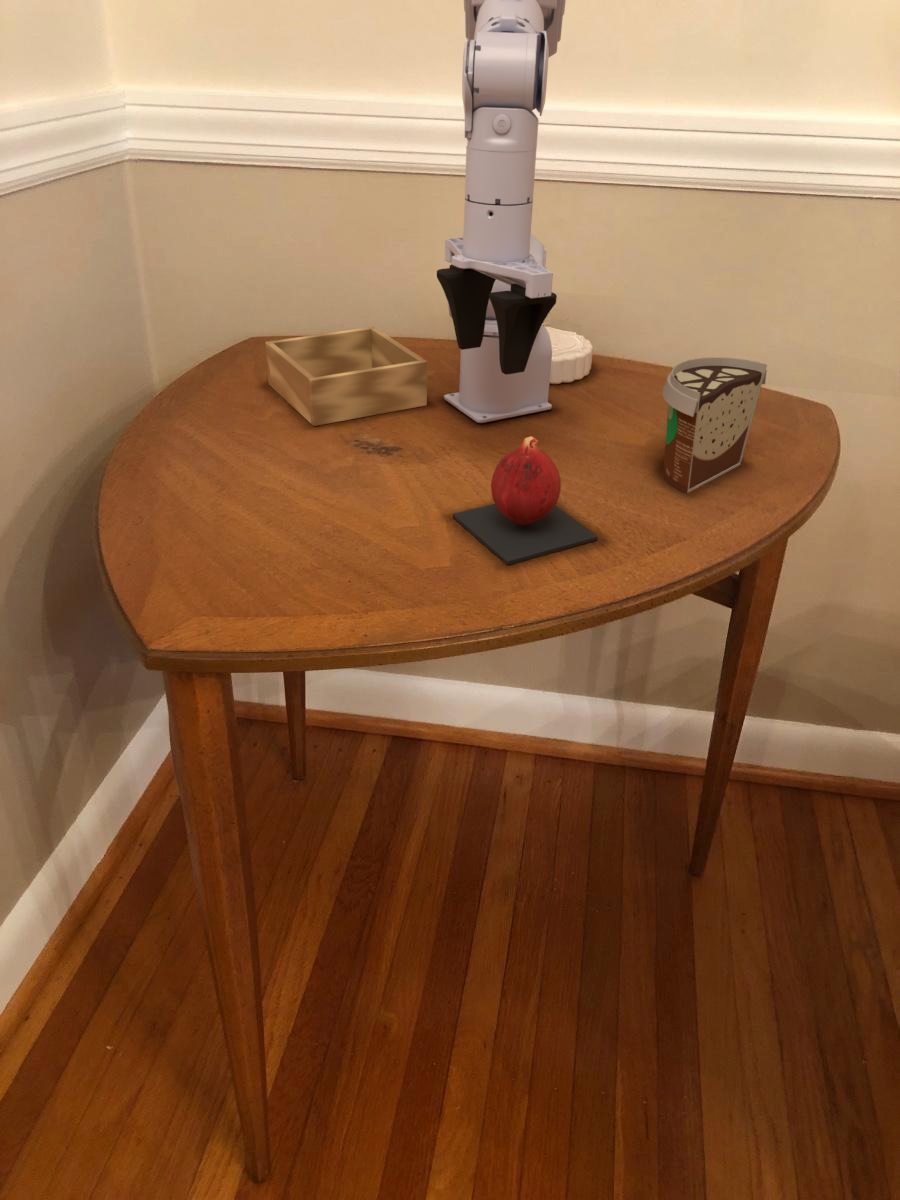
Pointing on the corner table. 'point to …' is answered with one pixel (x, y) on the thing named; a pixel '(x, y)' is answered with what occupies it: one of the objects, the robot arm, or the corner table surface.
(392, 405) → the wooden box
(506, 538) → the mat
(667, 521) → the corner table surface
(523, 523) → the onion
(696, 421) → the food container
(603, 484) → the corner table surface
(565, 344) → the mooncake
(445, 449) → the corner table surface
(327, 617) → the corner table surface
